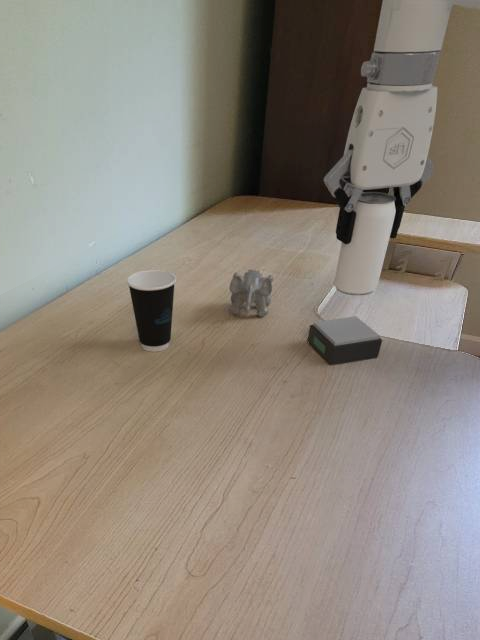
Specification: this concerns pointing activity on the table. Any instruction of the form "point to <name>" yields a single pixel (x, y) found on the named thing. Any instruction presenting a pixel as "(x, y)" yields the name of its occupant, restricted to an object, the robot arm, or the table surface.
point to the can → (366, 244)
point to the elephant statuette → (251, 292)
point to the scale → (344, 340)
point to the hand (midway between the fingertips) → (365, 237)
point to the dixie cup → (153, 307)
